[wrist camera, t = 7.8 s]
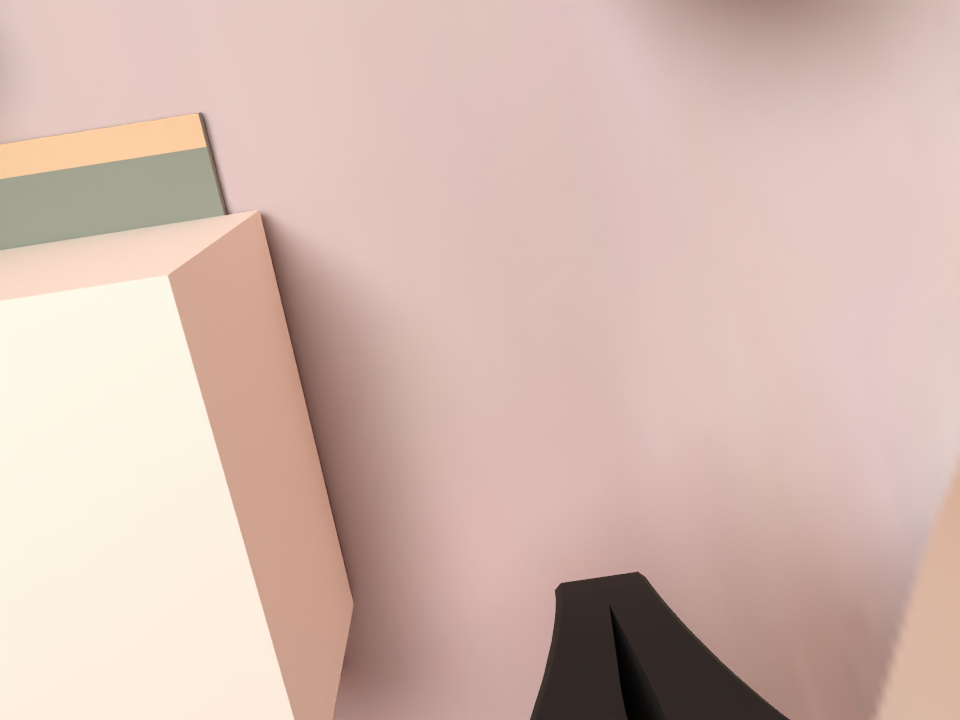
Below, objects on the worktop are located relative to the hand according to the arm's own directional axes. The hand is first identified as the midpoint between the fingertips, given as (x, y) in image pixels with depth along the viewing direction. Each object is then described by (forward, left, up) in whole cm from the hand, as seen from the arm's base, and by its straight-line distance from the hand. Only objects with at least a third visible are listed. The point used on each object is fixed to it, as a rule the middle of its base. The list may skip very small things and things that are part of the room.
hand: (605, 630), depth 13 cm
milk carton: (0, +7, -7) cm, 9 cm away
